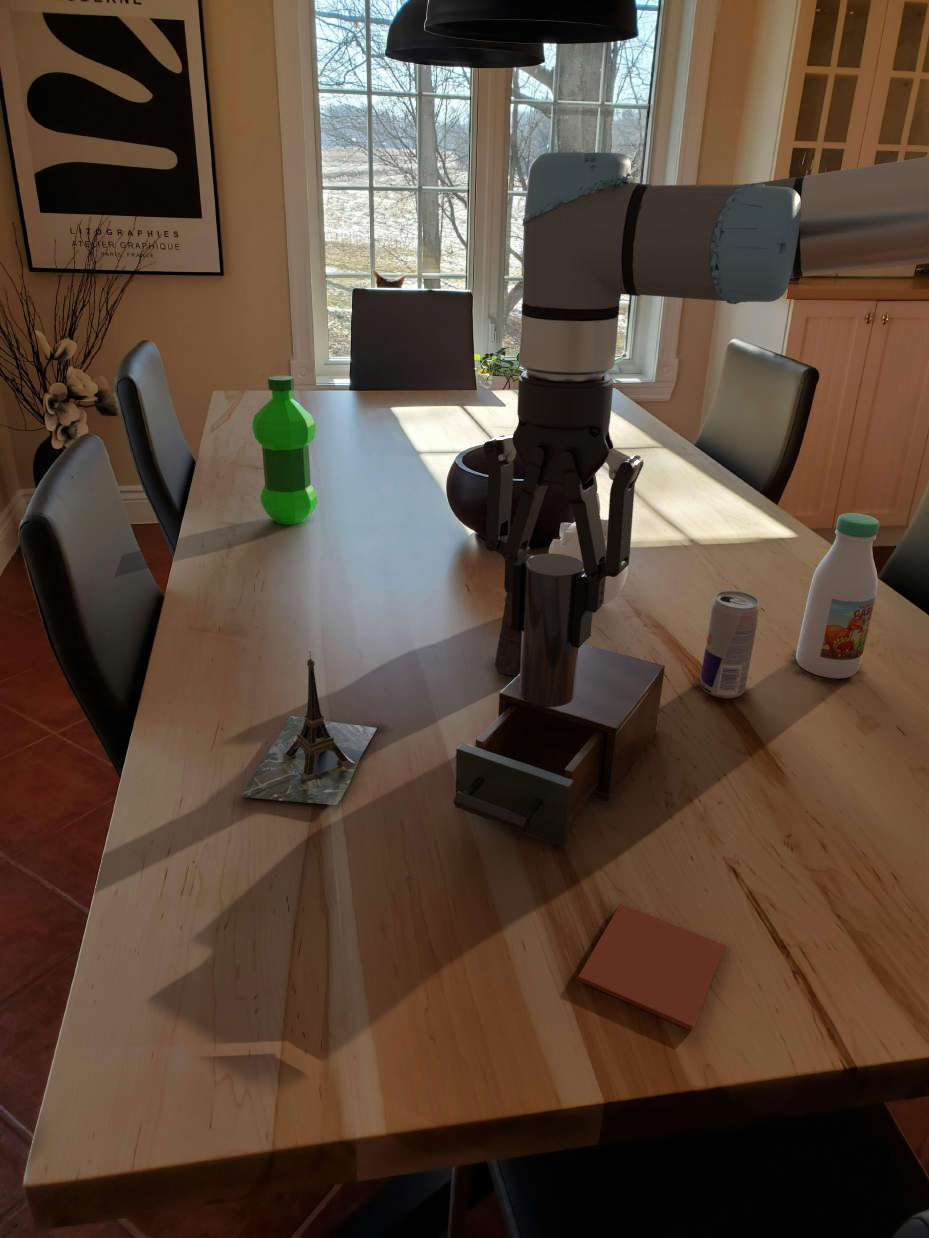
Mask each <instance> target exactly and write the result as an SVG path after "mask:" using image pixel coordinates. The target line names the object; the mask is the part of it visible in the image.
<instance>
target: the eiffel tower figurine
mask: <svg viewBox="0 0 929 1238" xmlns="http://www.w3.org/2000/svg"><path fill="white" fill-rule="evenodd" d="M315 665H316V664H315V661H314V660H313V659H312V655H311V652H309V659H308V660H307V663H306V666H307V667H308V668H307V669H308V672H307V673H308V675H307V676H308V682H307V687H308V688H307V705H306V706H307V707H306V714H305V715H304V717H301V716H296V715H295V716H294V715H290V716H289V717H288V719H287V721H286V723H285V724H284V725H283V727H282V729H281V730H280V732H279V733H278V735H277V736H276V738H275V740H274V742H273V744H271V746H270V748H269V749H268V750H267V753H266V754H265V756H264V757H263V759H262V760H261V762H260V764H259V765H258V767H257V768H256V770H255V772H254V773H253V775H252V777H251V778H250V780H249V782H248V783H247V785H246V786H245V788H244V790H243V791H242V793H241V794H240V797H242V798H249V799H250V798H251V799H261V800H273V801H283V802H284V801H285V802H295V803H308V804H323V805H333V806H338V804H339V802H340V801H341V799H342V798H343V796H344V794H345V792H346V790H347V789H348V787H349V785H350V783H351V780H352V779H353V776H354V773H355V772H356V768H357V767H358V766H359V762H360V759H361V757H362V755H363V754H364V752H365V750H366V748H367V747H368V745H369V743H370V741H371V740H372V738H373V736H374V734H375V733H376V731H377V729H378V727H372V726H367V725H366V726H365V725H358V724H349V723H343V722H335V721H329V720H324V719H325V717H324V716H323V715H322V712H321V707H320V702H319V697H318V689H317V681H316V674H315Z"/></svg>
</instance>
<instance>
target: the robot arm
mask: <svg viewBox="0 0 929 1238" xmlns="http://www.w3.org/2000/svg"><path fill="white" fill-rule="evenodd" d="M633 181H634V176H632V162H631V159H630V158H629V157H628V155H626V154H624V153H618V152H583V151H582V152H581V151H580V152H579V151H563V152H562V151H559V152H544V153H542V154H540V155H538V156H537V157H535V158H534V159H533V161H532V162H531V164H530V166H529V169H528V176H527V184H526V185H527V186H526V197H525V208H524V217H523V218H522V227H523V248H522V249H523V251H522V293H521V295H522V300H521V321H520V339H519V355H518V364H519V365H520V367H522V368H523V369H525V370H524V371H523V372H521V375H519V376H518V383H517V384H518V387H517V388H518V389H517V410H516V411H517V418H518V422H517V426H516V428H515V430H514V432H513V433H512V435H510V436H506V435H504V434H500V435H498V436H496V437H494V438H492V439H489V440H487V441H485V442H484V443H483V447H482V448H483V453H484V456H485V460H486V464H487V467H488V472H487V473H488V474H487V477H488V478H487V492H486V493H487V495H486V518H485V535H484V536H485V539H484V540H485V541H484V546H485V549H487V550H488V551H489V552H496V553H498V554H500V555H501V556H502V557H503V559H504V581H503V582H504V583H503V588H504V591H505V593H507V592H508V593H512V617H511V631H514V632H520V631H521V630H522V619H523V597H524V574H525V562H526V561H527V559H529V558H531V557H533V556H531V555H532V554H529V555H526V556H525V557H524V553H525V552H526V551H528V552H529V550H530V549H531V546H529V548H528V545H529V544H530V541H531V538H532V535H533V533H534V529H535V527H536V524H537V520H538V517H539V514H540V510H541V507H542V504H543V501H544V498H545V495H546V492H547V490H548V488H549V486H550V487H551V486H555V487H558V488H560V489H563V490H566V495H567V499H568V502H569V503H571V506H572V513H573V518H574V522H575V523H576V529H577V534H578V539H579V545H580V550H581V556H582V561H583V566H584V572H583V573H581V574H580V575H579V576H578V577H577V578H576V582H575V596H574V611H573V625H572V639H571V646H573V647H576V648H579V647H580V646H581V645H582V644H585V642H587V641H588V639H589V638H591V636H592V624H593V614H596V612H598V611H599V610H600V609H601V608H602V606H603V605H604V604H603V602H604V591H605V579H606V576H610V577H616V576H617V575H618V574H619V573H621V572H622V571H623V570H624V569H625V568H626V567H627V566H628V567H629V564H630V557H631V544H632V543H631V542H632V527H633V515H634V499H635V489H636V488H635V487H636V482H637V480H638V478H639V477H640V473H641V471H642V469H643V467H644V459H643V458H642V456H640V455H637V454H635V455H632V456H629V455H627V454H625V453H623V452H621V451H619V450H617V449H615V448H614V443H613V440H612V437H611V435H610V424H611V418H612V417H611V416H612V405H613V392H614V379H613V378H612V376H611V375H610V374H609V373H607V372H609V371H611V370H612V369H613V368H614V367H615V362H616V351H617V339H618V328H619V315H620V302H621V297H622V295H627V296H632V297H633V296H634V297H639V296H647V297H648V296H649V297H650V296H651V297H663V298H675V299H677V298H678V299H691V300H704V301H705V300H706V301H716V302H717V301H719V302H726V303H727V304H729V305H737V304H740V303H772V302H775V301H777V300H779V299H781V297H783V296H784V295H785V293H786V292H787V289H788V287H789V283H790V279H796V278H801V277H811V276H812V277H813V276H821V275H822V276H823V275H829V274H839V273H850V272H859V271H868V270H869V271H870V270H878V269H885V268H887V269H888V268H896V267H897V268H898V267H905V266H906V267H907V266H914V265H915V266H916V265H926V264H929V156H924V157H917V158H911V159H904V160H899V161H892V162H891V161H890V162H884V163H879V164H878V163H877V164H872V165H866V166H860V167H859V166H858V167H853V168H846V169H839V170H834V171H827V172H826V171H825V172H821V173H820V172H819V173H813V174H809V175H808V174H807V175H804V176H798V177H797V176H796V177H786V178H781V179H773V180H767V181H761V182H754V183H753V182H751V183H743V184H657V185H655V184H650V183H646V184H645V183H642V182H633ZM517 454H518V455H519V457H520V459H521V461H522V463H523V464H524V467H525V466H526V468H527V470H526V473H525V472H524V473H525V474H524V477H523V480H522V484H521V487H520V490H521V493H520V497H519V499H518V503H517V507H516V510H515V512H514V516H513V519H512V522H511V518H512V503H513V502H512V501H513V485H514V484H513V483H514V471H515V469H514V468H515V467H514V459H515V458H516V456H517ZM605 463H606V465H607V466H608V477H609V479H610V480H612V482H611V486H610V490H609V502H608V518H607V519H608V534H607V550H606V547H605V541H604V535H603V530H602V524H601V512H600V513H599V507H598V501H597V495H596V494H597V493H598V483H597V482H598V481H597V476H596V474H597V473H598V471H600V469H601V468H602V467H603V466H604V465H605ZM602 604H603V605H602Z"/></svg>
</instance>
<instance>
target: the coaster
mask: <svg viewBox="0 0 929 1238" xmlns="http://www.w3.org/2000/svg"><path fill="white" fill-rule="evenodd" d="M726 947H727V946H726V944H725V943H721V942H719V941H716V940H715V939H714V940H713V939H711V938H708V937H706V936H704V935H701V934H698V933H696V932H693V931H691V930H688V929H686V928H683V927H681V926H678V925H676V924H673V923H671V922H668V921H665V920H664V919H663V920H662V919H660V918H657V917H655V916H653V915H651V914H647V913H645V912H643V911H640V910H637V909H635V908H633V907H630V906H628V905H625V904H622V903H619V905H617V908H616V910H615V912H614V913H613V915H612V917H611V918H610V920H609V921H608V924H607V925H606V927H605V929H604V930H603V932H602V934H601V935H600V937H599V940H597V942H596V944H595V947H594V948H593V950H592V951H591V953H590V955H589V957H588V958H587V960H586V961H585V964H584V965H583V967H582V969H581V970H580V973H579V974H578V976H577V981H578V982H579V983H582V984H584V985H587V986H588V987H592V988H594V989H595V990H597V991H601V992H603V993H605V994H607V995H609V996H612V997H614V998H617V999H618V1000H621V1001H623V1002H625V1003H627V1004H629V1005H632V1006H634V1007H636V1008H639V1009H641V1010H644V1011H645V1012H648V1013H650V1014H653V1015H655V1016H657V1017H659V1018H661V1019H664V1020H666V1021H668V1022H670V1023H673V1024H675V1025H677V1026H680V1027H681V1028H684V1029H686V1030H689V1031H691V1032H693V1030H694V1028H695V1025H696V1023H697V1020H698V1017H699V1016H700V1012H701V1011H702V1008H703V1005H704V1003H705V1000H706V998H707V996H708V993H709V992H710V991H709V990H710V988H711V985H712V983H713V980H714V978H715V976H716V973H717V971H718V968H719V965H720V963H721V962H722V961H721V960H722V958H723V956H724V953H725V951H726Z"/></svg>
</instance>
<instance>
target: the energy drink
mask: <svg viewBox="0 0 929 1238" xmlns="http://www.w3.org/2000/svg"><path fill="white" fill-rule="evenodd" d="M760 609H761V608H760V601H759V599H758V598H757V597H756V596H754V595H753V594H750V593H748V592H744V591H740V590H722V591H720V592H717V593H715V595H714V599H713V601H712V603H711V610H710V614H709V615H710V616H709V622H708V629H707V635H706V641H705V648H704V654H703V660H702V666H701V673H700V679H699V685H700V687H701V689H702V690H703V691H704V692H705V693H706V694H708V695H710V696H713V697H716V698H719V699H735V698H738V697H740V696H741V695H743V694H744V693H745V692H746V686H747V681H748V676H749V670H750V665H751V659H752V654H753V648H754V641H755V637H756V632H757V627H758V622H759V615H760V611H761V610H760Z"/></svg>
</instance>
